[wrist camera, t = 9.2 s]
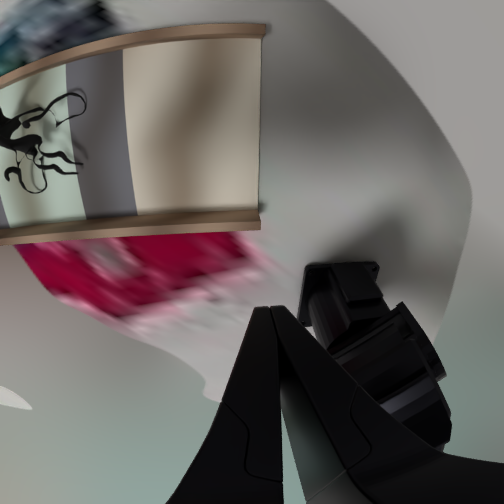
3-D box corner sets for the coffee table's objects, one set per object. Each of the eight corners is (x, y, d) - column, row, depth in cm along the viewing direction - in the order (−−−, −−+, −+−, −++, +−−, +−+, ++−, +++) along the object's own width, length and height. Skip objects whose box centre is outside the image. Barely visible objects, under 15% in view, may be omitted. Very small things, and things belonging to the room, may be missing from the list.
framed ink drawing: (260, 30, 13) (265, 24, 12) (256, 215, 20) (260, 229, 18) (-41, 105, 11) (-57, 110, 9) (-13, 236, 18) (-25, 247, 16)
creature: (116, 110, 15) (26, 60, 11) (99, 134, 12) (-16, 71, 7) (65, 201, 18) (-14, 158, 13) (45, 246, 14) (-50, 194, 10)
